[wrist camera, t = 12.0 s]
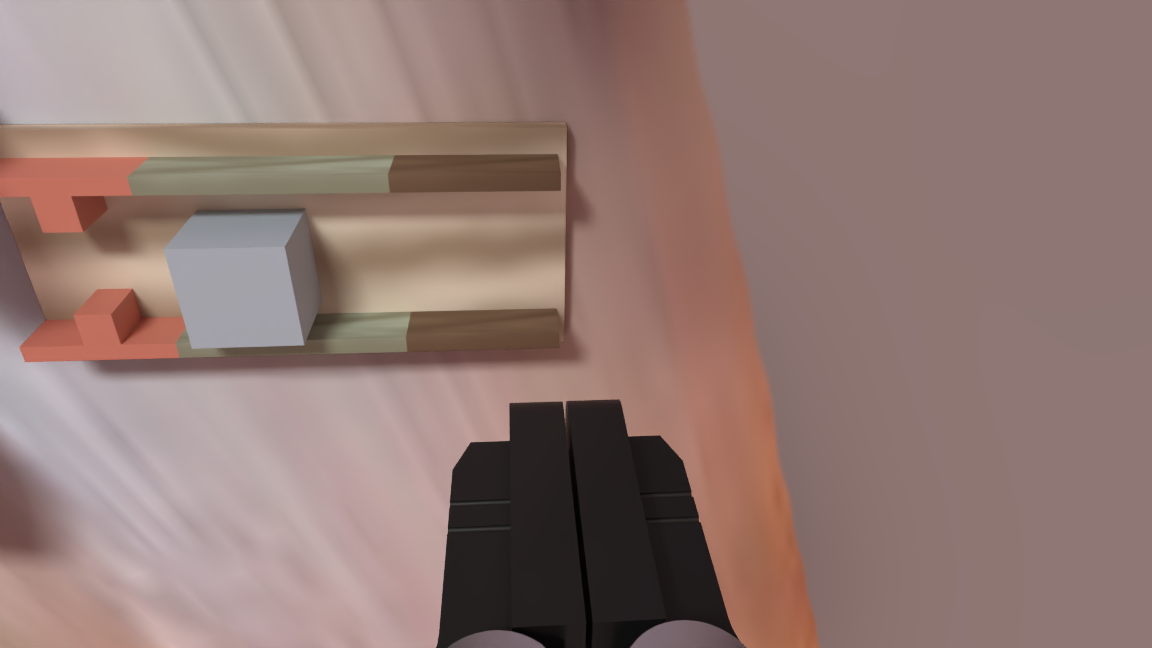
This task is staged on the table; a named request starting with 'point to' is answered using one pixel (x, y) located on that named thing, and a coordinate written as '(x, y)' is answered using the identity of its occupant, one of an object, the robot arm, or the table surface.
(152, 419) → the table surface
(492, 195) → the track
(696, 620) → the robot arm
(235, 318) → the slate block
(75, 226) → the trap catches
